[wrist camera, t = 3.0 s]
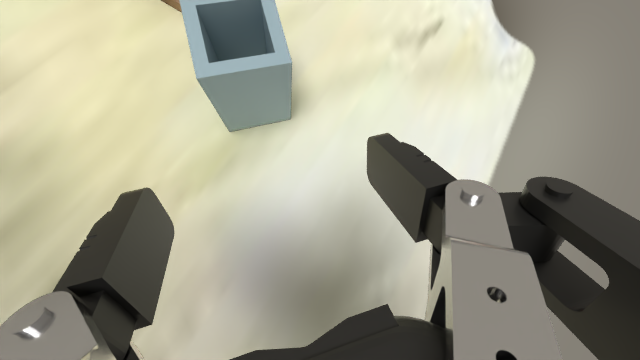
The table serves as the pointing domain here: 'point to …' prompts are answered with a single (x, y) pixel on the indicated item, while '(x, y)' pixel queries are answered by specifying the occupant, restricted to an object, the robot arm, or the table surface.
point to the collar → (240, 59)
